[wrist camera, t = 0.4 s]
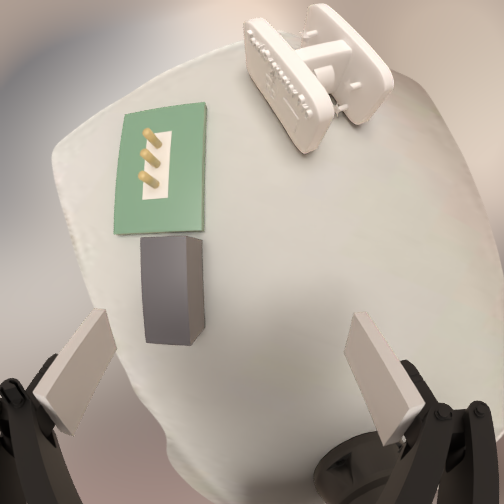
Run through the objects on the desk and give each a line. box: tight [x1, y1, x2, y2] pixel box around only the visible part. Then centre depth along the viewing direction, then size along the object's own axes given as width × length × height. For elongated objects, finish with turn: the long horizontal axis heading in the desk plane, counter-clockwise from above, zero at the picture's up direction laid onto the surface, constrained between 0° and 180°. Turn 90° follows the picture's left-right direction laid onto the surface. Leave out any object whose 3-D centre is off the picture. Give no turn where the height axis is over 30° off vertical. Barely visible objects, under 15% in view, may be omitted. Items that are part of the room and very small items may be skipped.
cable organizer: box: [243, 3, 394, 154], centre depth 25 cm, size 15×11×12 cm
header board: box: [114, 102, 207, 235], centre depth 28 cm, size 16×11×6 cm
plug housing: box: [140, 236, 205, 346], centre depth 27 cm, size 10×4×7 cm, turn 1°
